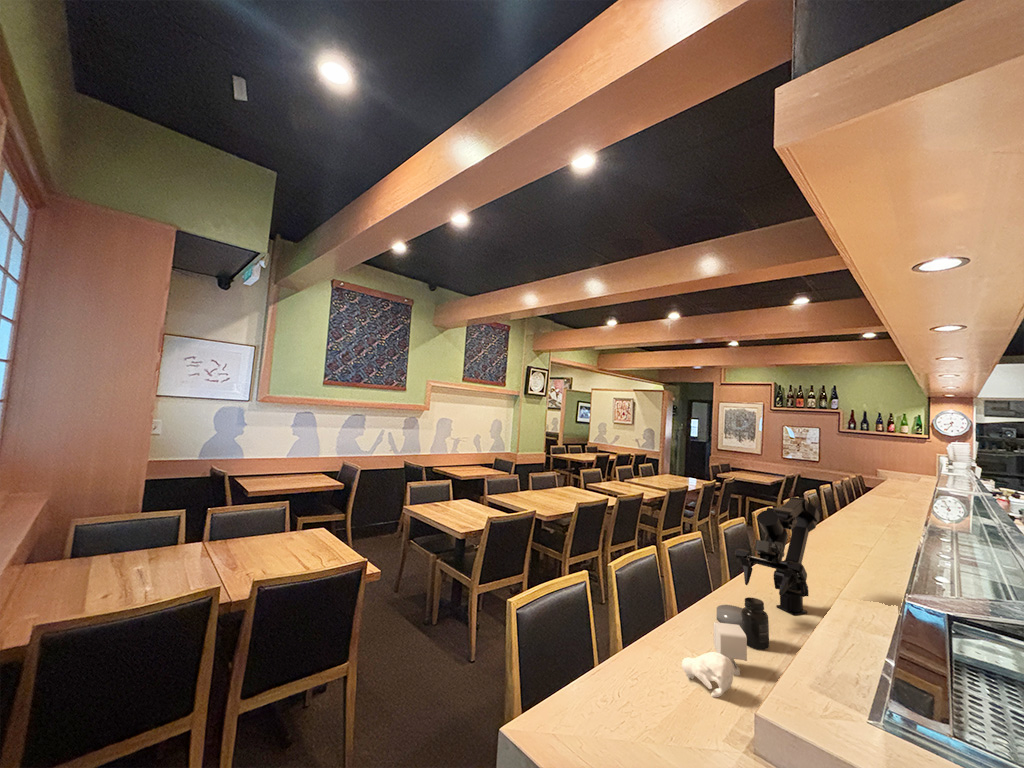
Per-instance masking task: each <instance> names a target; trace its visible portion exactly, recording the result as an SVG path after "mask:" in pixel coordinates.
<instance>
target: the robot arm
mask: <svg viewBox="0 0 1024 768" xmlns="http://www.w3.org/2000/svg"><path fill="white" fill-rule="evenodd" d="M820 517H821V515H820V512H819V509H818V508H817V507H816V506H815V505H813V504H812V503H810V502H809V500H808V499H805V498H803V497H797V496H792V497H791V496H790V497H789V500H788V501H786V502H785V503H784V504H783V505H782V506H780V507H772V508H771V507H767V508H766V510H763V511H761V512H759V513H758V514H757V520H758V523H759V525H760V527H761V529H762V532H764V533H765V538H764V539H763V540H761V539H755V542H754V543H755V545H754V551H757V552H756V554H757V555H758V556H759V557H758V556H753V554H751V551H750V550H747V549H743V548H736V549H735V551H734V553H733V556H734V558H735V559H736V562H737V563H738V564H739V565H740V566H741V567H742V568H743V576H744V577H743V578H744V583H745V586H748V585H749V583H750V579H751V576H752V572H753V570H754V569H753V565H754V564H755V565H760V566H764V567H767V568H772V569H775V570H774V572H773V582H774V583H773V584H774V588H775V590H779V591H778V595H779V604H776V606H775V607H776V608H777V609H780V610H782V611H784V612H786V613H788V614H791V615H793V616H797V615H803V614H808V610H805V609H804V600H803V599H804V598H805V597H809V586H808V582H807V579H808V573H807V570H806V569H805V566H804V565H803V559H804V555H805V550H806V546H807V542H808V538H809V533H810V532H812V531H813V530H815V529H816V527H817V525H818V523H819V521H820ZM786 530H790V531H792V533H791V536H790V540H789V539H788V537H789V533H788V532H787V531H786ZM787 541H789V544H788V548H787V552H786V556H785V549H786V545H787ZM784 558H785V559H784ZM783 559H784V560H783Z"/></svg>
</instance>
